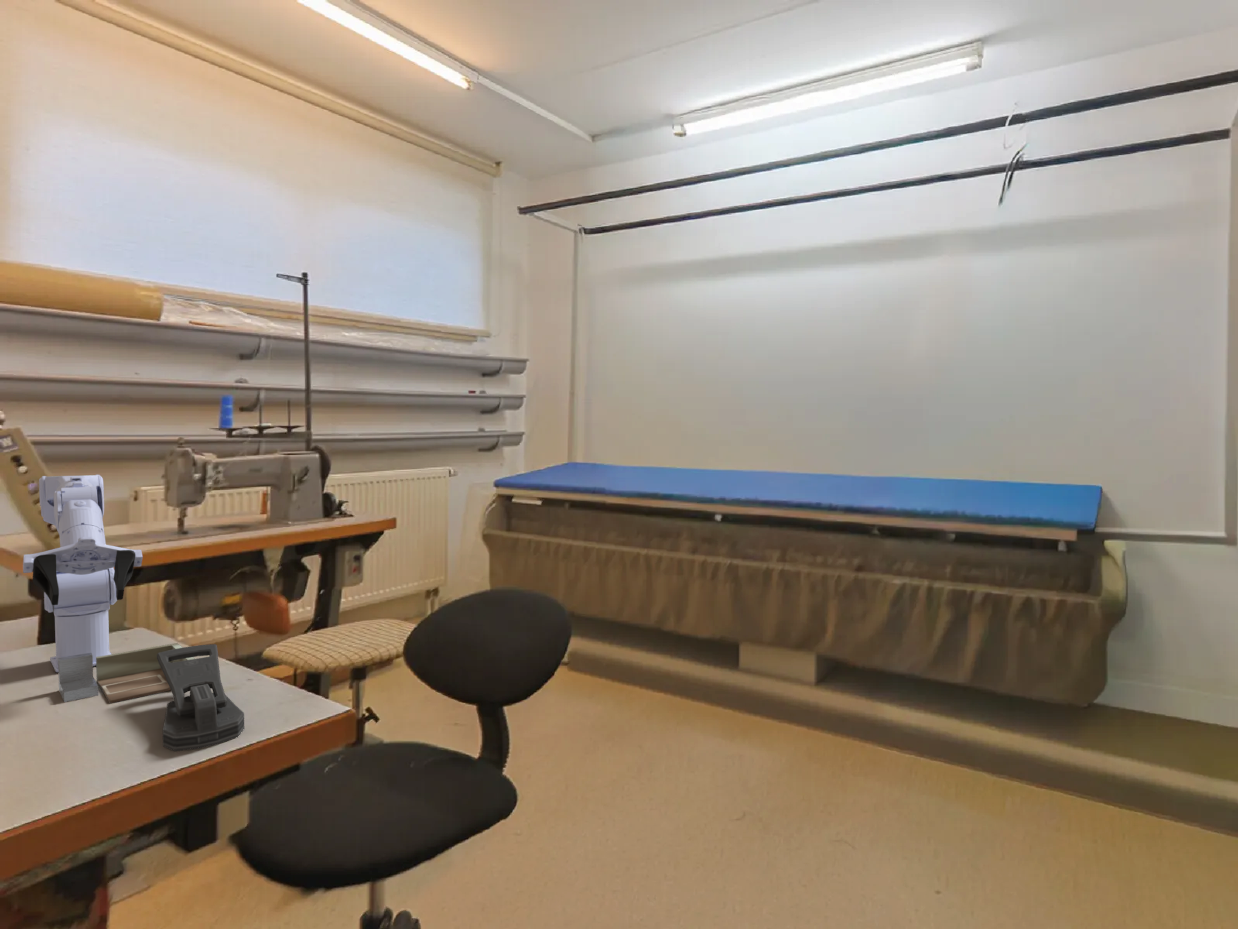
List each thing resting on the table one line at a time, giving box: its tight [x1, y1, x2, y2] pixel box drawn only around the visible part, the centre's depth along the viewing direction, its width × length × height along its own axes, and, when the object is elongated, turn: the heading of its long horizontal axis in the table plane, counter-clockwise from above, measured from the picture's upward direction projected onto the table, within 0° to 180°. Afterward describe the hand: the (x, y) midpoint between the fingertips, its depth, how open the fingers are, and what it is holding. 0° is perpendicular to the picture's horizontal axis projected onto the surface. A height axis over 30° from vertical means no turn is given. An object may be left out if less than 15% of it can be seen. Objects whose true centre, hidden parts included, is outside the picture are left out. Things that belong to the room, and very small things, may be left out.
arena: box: [95, 642, 196, 704], centre depth 109 cm, size 12×11×4 cm
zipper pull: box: [157, 643, 245, 752], centre depth 97 cm, size 9×7×25 cm
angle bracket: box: [57, 653, 99, 703], centre depth 105 cm, size 6×4×5 cm, turn 44°
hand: (88, 597), depth 103 cm, fingers open, 7 cm apart
